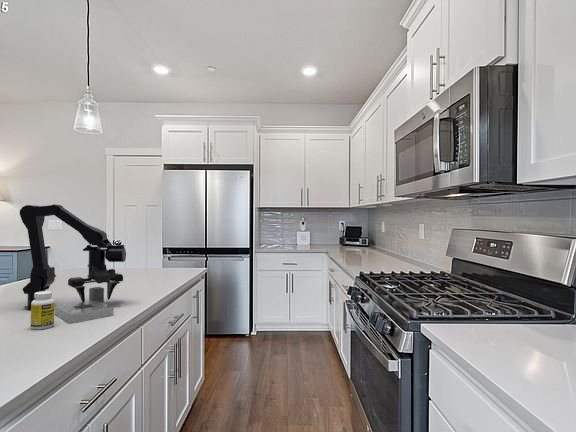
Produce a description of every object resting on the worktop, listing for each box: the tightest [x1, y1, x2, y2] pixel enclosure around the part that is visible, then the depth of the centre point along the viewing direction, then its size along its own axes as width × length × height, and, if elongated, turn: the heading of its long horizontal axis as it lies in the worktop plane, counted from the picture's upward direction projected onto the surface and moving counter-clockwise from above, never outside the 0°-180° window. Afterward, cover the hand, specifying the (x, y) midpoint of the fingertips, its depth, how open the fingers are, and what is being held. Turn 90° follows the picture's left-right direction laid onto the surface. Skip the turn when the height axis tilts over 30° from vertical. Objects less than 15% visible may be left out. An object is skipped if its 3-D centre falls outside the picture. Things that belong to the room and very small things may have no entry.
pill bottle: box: [30, 290, 56, 331], centre depth 113 cm, size 6×6×11 cm
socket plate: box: [54, 300, 114, 325], centre depth 127 cm, size 16×14×4 cm
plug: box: [88, 286, 105, 303], centre depth 141 cm, size 4×4×7 cm
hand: (96, 301), depth 141 cm, fingers open, 9 cm apart
